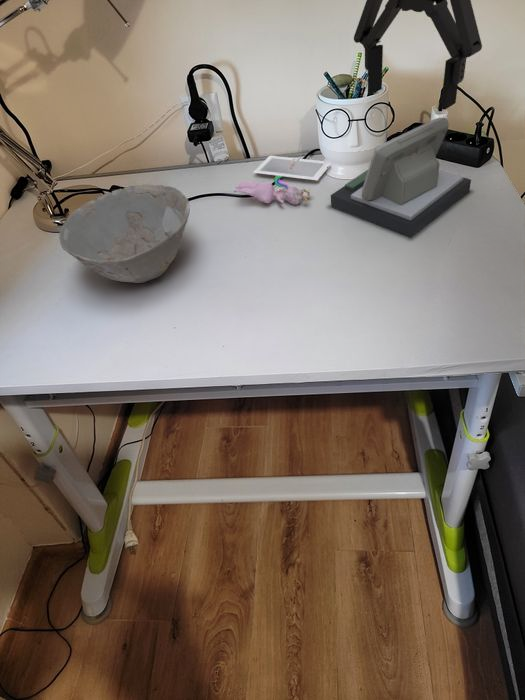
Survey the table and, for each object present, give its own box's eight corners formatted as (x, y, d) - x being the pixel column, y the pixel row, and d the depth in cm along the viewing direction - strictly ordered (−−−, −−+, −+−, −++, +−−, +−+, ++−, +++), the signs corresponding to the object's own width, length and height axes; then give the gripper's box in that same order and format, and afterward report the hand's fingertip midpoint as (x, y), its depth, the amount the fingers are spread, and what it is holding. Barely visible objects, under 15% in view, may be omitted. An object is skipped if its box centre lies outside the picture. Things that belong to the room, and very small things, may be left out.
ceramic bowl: (91, 326, 82) (66, 277, 75) (75, 254, 98) (53, 208, 90) (220, 280, 86) (207, 230, 78) (184, 218, 101) (171, 171, 94)
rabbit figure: (310, 199, 102) (238, 189, 104) (313, 171, 98) (237, 161, 100) (305, 216, 98) (230, 205, 100) (307, 188, 94) (229, 177, 96)
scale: (469, 191, 94) (472, 175, 91) (410, 238, 86) (412, 221, 84) (389, 167, 104) (389, 152, 102) (331, 206, 97) (330, 191, 94)
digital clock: (426, 166, 96) (432, 108, 88) (457, 185, 90) (466, 125, 82) (351, 192, 93) (350, 135, 85) (377, 214, 87) (379, 154, 79)
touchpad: (317, 185, 103) (317, 175, 102) (253, 177, 109) (252, 167, 108) (332, 167, 108) (332, 157, 106) (270, 160, 114) (269, 150, 112)
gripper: (327, -67, 70) (333, 94, 85) (497, -72, 56) (468, 122, 71) (362, -79, 73) (362, 78, 88) (531, -86, 59) (497, 103, 74)
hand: (409, 98), depth 80 cm, fingers open, 13 cm apart
